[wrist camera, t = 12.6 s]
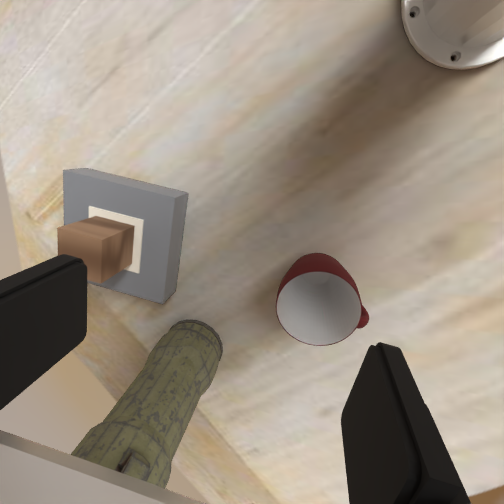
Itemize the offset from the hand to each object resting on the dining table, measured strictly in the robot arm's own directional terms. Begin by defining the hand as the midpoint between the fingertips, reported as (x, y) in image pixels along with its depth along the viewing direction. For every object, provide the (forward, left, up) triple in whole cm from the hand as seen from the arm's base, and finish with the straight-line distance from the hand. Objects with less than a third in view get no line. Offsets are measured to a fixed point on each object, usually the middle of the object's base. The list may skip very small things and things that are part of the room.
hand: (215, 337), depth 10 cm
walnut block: (+9, -19, -24) cm, 32 cm away
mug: (+8, +7, -28) cm, 30 cm away
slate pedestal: (+9, -19, -28) cm, 35 cm away
